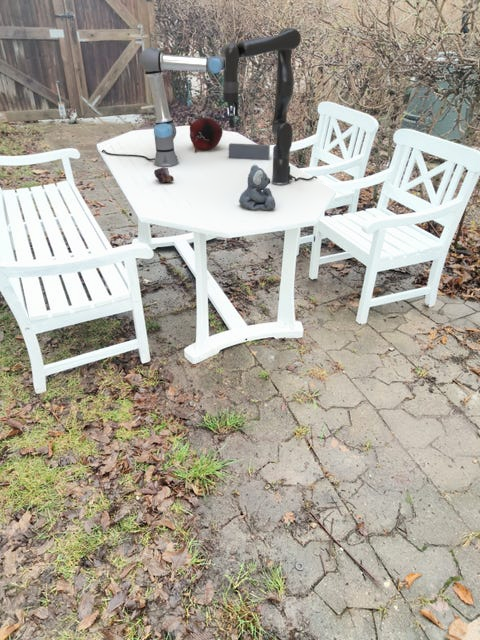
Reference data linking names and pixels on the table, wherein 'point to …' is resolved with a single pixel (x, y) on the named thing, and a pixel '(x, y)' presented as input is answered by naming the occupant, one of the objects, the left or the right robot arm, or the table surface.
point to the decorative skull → (205, 133)
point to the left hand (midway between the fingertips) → (233, 117)
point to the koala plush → (257, 191)
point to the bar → (249, 151)
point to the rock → (163, 175)
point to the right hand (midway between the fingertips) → (231, 125)
